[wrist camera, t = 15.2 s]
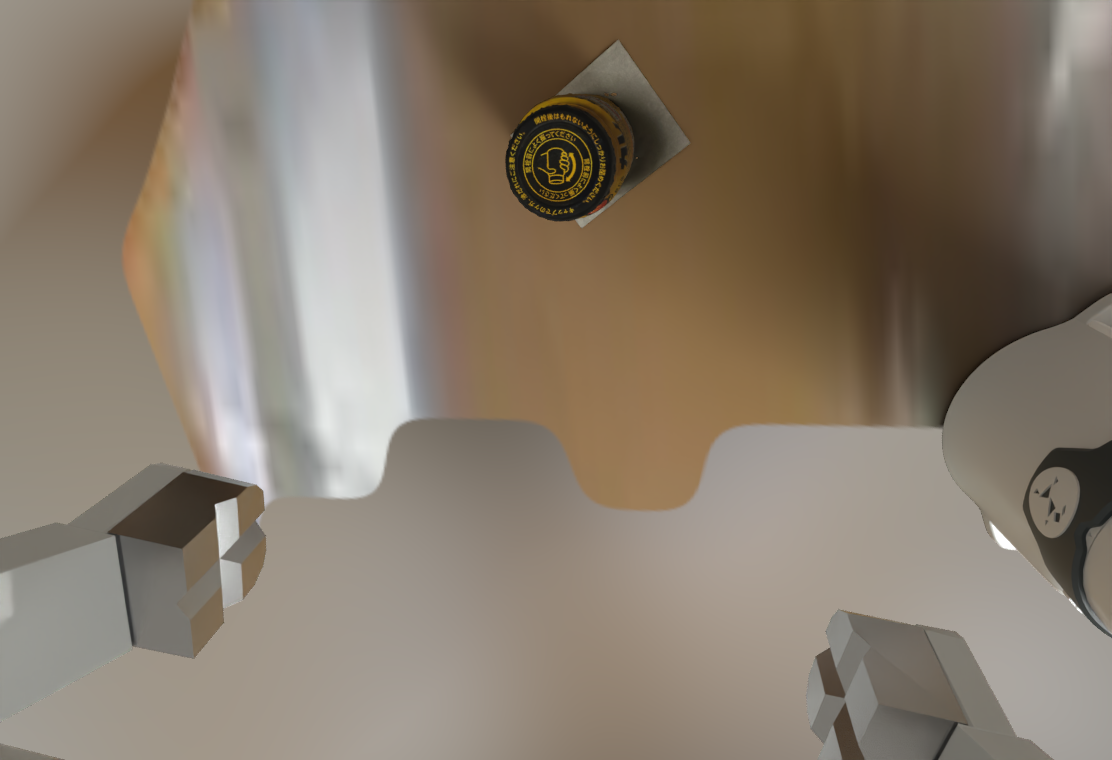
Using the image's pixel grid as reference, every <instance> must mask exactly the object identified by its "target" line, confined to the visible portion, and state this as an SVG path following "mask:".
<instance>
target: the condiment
mask: <svg viewBox="0 0 1112 760" xmlns="http://www.w3.org/2000/svg"><path fill="white" fill-rule="evenodd" d="M605 93H608V94H609V96H605V95H604V94H605ZM611 93H616V94H617V96H611ZM510 136H511V137H512V139H511V140H510V141H509V145H508V149H507V151H506V173H507V178H508V180H509V183H510V188H511V190H512V192H513V194H514V195H515V196H516V197H517V198H518V200H519V202H520V203H521V204H522V205H523V206H524V207H525V208H526V209H528V210H529V211H531V212H533V213H535V214H536V215H537V216H539V217H543V218H545V219H547V220H552V221H571V220H576V222H577V223H578V224H579V226H580V227H581V228H583V227H584V226H585V225H586V224H588V223H589V222H590V221H591V220H593V219H594V218H595V217H597V216H598V215H599V214H600V213H602V212H603V211H604V210H605V209H607V208H608V207H609V206H611V205H612V204H613V203H614V202H616V201H617V200H618V199H620V198H621V197H622V196H623V195H625V194H626V193H627V192H628V191H630V190H631V189H632V188H634V187H635V186H636V185H637V184H639V183H640V182H641V181H643V180H644V179H645V178H646V177H648V176H649V175H650V174H652V173H653V172H654V171H656V170H657V169H658V168H659V167H660V166H662V165H663V164H664V163H666V162H667V161H668V160H669V159H671V158H672V157H673V156H675V155H676V154H677V153H679V152H680V151H681V150H682V149H684V148H685V147H686V146H687V145H689V144H690V141H689V140H688V139H687V137H686V136H685V134H684V133H683V132H682V130H681V128H680V127H679V126H678V124H677V123H676V121H675V120H674V118H673V117H672V116H671V114H670V113H669V112H668V110H667V108H666V107H665V106H664V104H663V103H662V101H661V100H660V98H659V97H658V96H657V94H656V93H655V91H654V90H653V88H652V87H651V86H650V85H649V83H648V81H647V80H646V78H645V77H644V76H643V74H642V73H641V71H640V70H639V69H638V67H637V66H636V64H635V63H634V61H633V60H632V59H631V57H630V56H629V54H628V53H627V51H626V50H625V49H624V47H623V46H622V44H621V43H620V41H619V40H617V41H616V42H615V43H614V44H613V45H612V46H610V47H609V48H608V49H607V50H606V51H605V52H604V53H603V54H601V55H600V56H599V57H598V58H597V59H596V60H595V61H593V62H592V63H591V64H590V65H589V66H588V67H587V68H586V69H585V70H584V71H582V72H581V73H580V74H579V75H578V76H577V77H575V78H574V79H573V80H572V81H571V82H570V83H569V84H568V85H567V86H565V87H564V88H563V89H562V90H561V91H560V92H559V93H558V94H557V95H555V96H554V97H552V98H550V99H548V100H545V101H543V102H541V103H539V104H537V105H535V106H534V108H533V109H532V110H530V111H529V112H528V113H527V114H526V115H525V116H524V117H523V119H522V120H521V122H520V124H519V125H518V127H517V129H515V131H514V133H512V134H511V135H510ZM636 157H638V159H636Z"/></svg>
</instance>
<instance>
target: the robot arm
mask: <svg viewBox="0 0 1112 760" xmlns="http://www.w3.org/2000/svg"><path fill="white" fill-rule="evenodd" d="M942 449H943V455H944V459H945V462H946V465H947V468H948V470H949V472H950V474H951V476H952V478H953V479H954V481H955V482H956V484H957V485H958V486H959V487H960V489H961V490H962V491H963V492H964V493H965V494H966V495H967V496H969V497H970V499H972V500H973V501H974V502H975V504H976V505H977V506H978V507H979V509H980V510H981V514H982V517H983V521H984V524H985V527H986V530H987V531H988V534H989V535H990V537H991V538H992V539H993V540H994V541H995V542H996V543H997V544H998V545H999V546H1000V547H1002V548H1005V549H1009V550H1018V552H1019V553H1020V554H1021V555H1022V556H1023V557H1024V558H1025V559H1026V560H1027V561H1028V562H1029V563H1030V564H1031V565H1032V566H1033V567H1034V568H1035V569H1036V570H1037V571H1038V572H1039V573H1040V574H1041V576H1042V577H1043V578H1044V579H1045V580H1047V582H1048V583H1049V584H1050V585H1051V586H1052V587H1053V588H1054V589H1055V590H1057V591H1058V592H1060V593H1061V594H1063V595H1065V596H1066V597H1067V598H1068V599H1069V601H1070V602H1071V603H1072V604H1073V605H1074V606H1075V607H1076V609H1078V610H1079V611H1080V612H1081V613H1082V614H1084V615H1085V616H1086V617H1087V618H1088V619H1089V620H1090V621H1091V622H1092V623H1093V624H1094V625H1095V626H1096V627H1097V628H1098V629H1100V630H1101V631H1102V632H1103V633H1105V634H1107V635H1108V636H1110V637H1111V638H1112V293H1110V294H1108V295H1107V296H1105V297H1103V298H1101V299H1100V300H1098V301H1097V302H1095V303H1094V304H1092V305H1091V306H1090V307H1088V308H1087V309H1085V310H1084V311H1083V312H1081V313H1080V314H1079V315H1077V316H1076V317H1075V318H1073V319H1071V320H1069V321H1067V322H1065V323H1062V324H1060V325H1057V326H1054V327H1051V328H1048V329H1045V330H1042V331H1039V332H1036V333H1033V334H1031V335H1028V336H1026V337H1023V338H1021V339H1019V340H1017V341H1015V342H1013V343H1011V344H1009V345H1008V346H1006V347H1004V348H1003V349H1001V350H999V351H998V352H996V353H995V354H994V355H992V356H991V357H990V358H988V359H987V360H986V361H984V362H983V363H982V364H981V365H980V366H979V367H978V368H977V369H976V370H975V371H974V372H973V373H972V374H971V375H970V376H969V377H968V378H967V380H966V381H965V382H964V383H963V385H962V386H961V387H960V389H959V390H958V392H957V393H956V395H955V397H954V399H953V400H952V403H951V405H950V407H949V409H948V412H947V415H946V418H945V422H944V426H943V435H942ZM264 511H265V507H264V495H263V490H262V489H261V488H259V487H258V486H257V485H255V484H251V483H247V482H243V481H239V480H234V479H230V478H226V477H222V476H218V475H213V474H209V473H205V472H201V471H197V470H190V469H186V468H182V467H177V466H173V465H168V464H164V463H158V464H151V465H149V466H148V467H146V468H145V469H144V470H142V471H141V472H140V473H138V474H137V475H135V476H134V477H132V478H131V479H130V480H128V481H127V482H126V483H124V484H123V485H121V486H120V487H119V488H117V489H116V490H115V491H113V492H112V493H110V494H109V495H108V496H106V497H105V498H103V499H102V500H101V501H99V502H98V503H97V504H95V505H94V506H93V507H91V508H90V509H88V510H87V511H85V512H84V513H83V514H81V515H80V516H79V517H77V518H76V519H74V520H73V521H72V522H70V523H69V524H68V525H65V524H60V523H53V524H50V525H46V526H42V527H40V528H36V529H32V530H29V531H25V532H22V533H18V534H15V535H11V536H8V537H4V538H1V539H0V722H2V721H4V720H6V719H7V718H9V717H11V716H12V715H15V714H17V713H18V712H20V711H22V710H24V709H26V708H28V707H29V706H31V705H33V704H35V703H37V702H38V701H40V700H42V699H44V698H46V697H48V696H49V695H51V694H53V693H55V692H57V691H58V690H60V689H62V688H64V687H66V686H68V685H69V684H71V683H73V682H75V681H77V680H78V679H80V678H82V677H84V676H86V675H88V674H89V673H91V672H93V671H95V670H96V669H98V668H100V667H102V666H104V665H106V664H108V663H109V662H111V661H113V660H115V659H117V658H119V657H120V656H122V655H124V654H126V653H128V652H130V651H131V650H132V646H134V647H139V648H143V649H148V650H154V651H158V652H163V653H168V654H173V655H178V656H182V657H187V658H192V659H194V658H195V657H196V656H197V655H198V653H199V652H200V651H201V650H202V649H203V647H204V646H205V645H206V644H207V643H208V641H209V640H210V639H211V638H212V637H213V635H214V634H215V633H216V632H217V631H218V629H219V628H220V627H221V626H222V625H223V623H224V612H223V609H224V608H226V607H228V606H230V605H232V604H235V603H237V602H239V601H242V600H243V599H244V598H245V597H246V595H247V594H248V593H249V591H250V590H251V589H252V588H253V587H254V585H255V583H256V581H257V579H258V577H259V574H260V572H261V570H262V568H263V565H264V560H265V554H266V535H265V534H264V532H263V531H262V529H261V528H260V527H259V525H258V524H257V522H256V521H255V520H256V519H257V518H258V517H259V516H260V515H261V514H262V513H263V512H264ZM826 634H827V638H828V641H829V645H830V648H828V649H827V650H825V651H824V652H822V653H820V654H819V655H817V656H816V657H815V659H814V662H813V665H812V668H811V671H810V673H809V678H808V686H807V694H806V699H807V713H808V718H809V723H810V728H811V730H812V731H813V732H814V733H815V735H816V736H817V737H818V738H819V739H820V740H821V742H822V743H823V744H824V746H823V748H822V750H821V753H820V755H819V757H818V760H1053V759H1052V758H1051V757H1050V756H1049V755H1048V754H1046V753H1045V752H1044V751H1043V750H1042V749H1040V748H1039V747H1038V746H1037V745H1036V744H1035V743H1033V742H1032V741H1031V740H1028V739H1024V738H1019V737H1017V735H1016V734H1015V732H1014V730H1013V728H1012V726H1011V724H1010V723H1009V721H1008V719H1007V717H1006V715H1005V713H1004V712H1003V710H1002V708H1001V706H1000V704H999V702H998V700H997V698H996V697H995V695H994V693H993V691H992V689H991V688H990V686H989V684H988V682H987V680H986V678H985V676H984V674H983V673H982V671H981V669H980V667H979V665H978V664H977V662H976V660H975V658H974V656H973V654H972V652H971V651H970V649H969V647H968V645H967V643H966V641H965V640H964V639H963V637H961V636H960V635H959V634H958V633H957V632H955V631H949V630H944V629H939V628H934V627H928V626H923V625H918V624H916V625H911V624H907V623H902V622H896V621H892V620H887V619H882V618H877V617H873V616H868V615H863V614H858V613H854V612H848V611H844V610H838V611H837V612H836V613H835V614H834V615H833V616H832V618H831V620H830V622H829V625H828V627H827V630H826ZM0 760H64V759H60V758H56V757H52V756H48V755H44V754H40V753H36V752H32V751H28V750H23V749H20V748H16V747H12V746H8V745H4V744H0Z"/></svg>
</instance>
